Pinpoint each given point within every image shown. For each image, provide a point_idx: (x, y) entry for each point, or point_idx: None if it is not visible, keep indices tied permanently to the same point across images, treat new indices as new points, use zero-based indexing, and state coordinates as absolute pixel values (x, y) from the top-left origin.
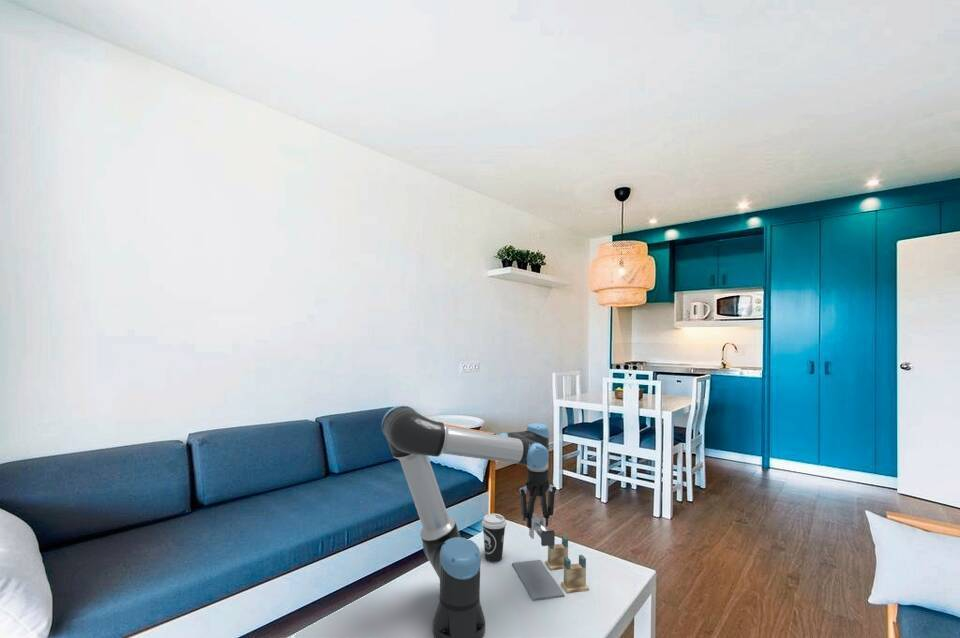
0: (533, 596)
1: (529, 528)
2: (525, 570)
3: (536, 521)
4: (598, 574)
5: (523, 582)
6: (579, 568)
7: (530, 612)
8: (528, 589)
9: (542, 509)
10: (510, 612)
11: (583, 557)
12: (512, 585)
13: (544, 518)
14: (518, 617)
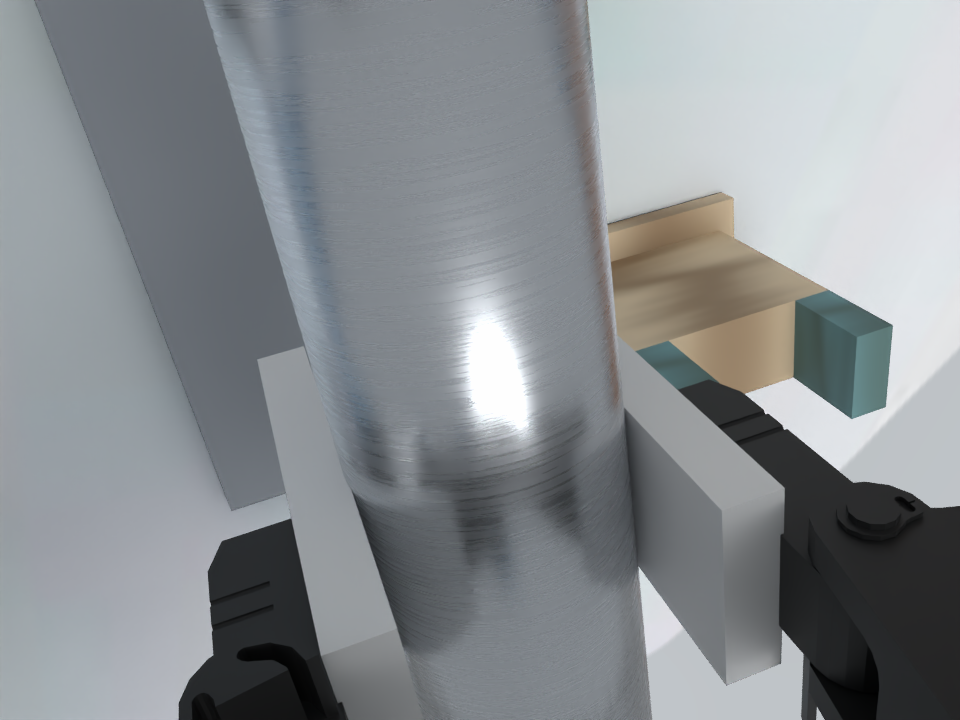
0: (240, 480)
1: (278, 450)
2: (172, 18)
3: (503, 652)
4: (903, 63)
5: (143, 279)
6: (760, 386)
7: (201, 626)
8: (196, 387)
9: (910, 707)
10: (25, 659)
11: (877, 380)
12: (11, 299)
13: (753, 667)
14: (100, 692)
